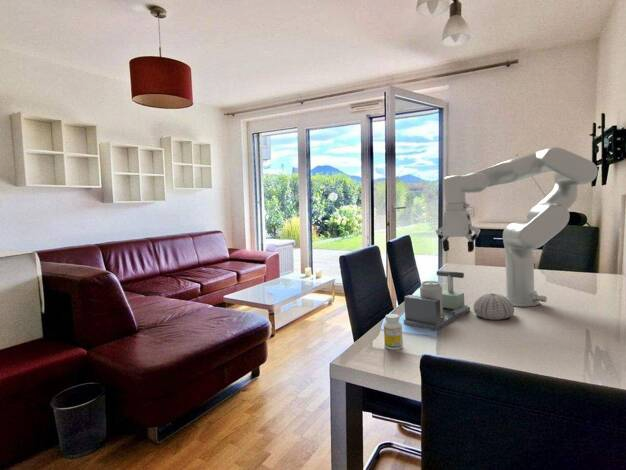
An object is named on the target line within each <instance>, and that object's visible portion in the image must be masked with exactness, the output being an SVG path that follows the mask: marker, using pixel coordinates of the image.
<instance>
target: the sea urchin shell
mask: <svg viewBox="0 0 626 470" xmlns="http://www.w3.org/2000/svg"><path fill="white" fill-rule="evenodd" d="M472 308H473V311H474V313H475V314H476V315H477V316H478V317H480V318H483V319H485V320H493V321H495V320H505V319H508V318H510V317H512V316H513V315H514V313H515V311H516V310H515V306H513V304H512V303H511V302H510V301H509V300H508V299H507V298H506V296H504V295H502V294H497V293H487V294H486V293H485V294H483V295H481V296H480V297H478V298H477V299H476V300H475V302H474V303H473V307H472Z"/></svg>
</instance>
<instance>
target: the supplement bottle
mask: <svg viewBox="0 0 626 470" xmlns="http://www.w3.org/2000/svg"><path fill="white" fill-rule="evenodd" d="M383 337H384V347H385V348H386V349H388V350H390V351H391V350H392V351H396V350H397V351H398V350H401V349H402V348H403V346H404V342H403V341H404V340H403V324H402V322H401V321H400V315H399V314H396V313H388V314H386V315H385V322H384V324H383Z"/></svg>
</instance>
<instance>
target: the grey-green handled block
mask: <svg viewBox="0 0 626 470" xmlns="http://www.w3.org/2000/svg"><path fill="white" fill-rule="evenodd" d="M436 276H439V277H446V279H447V290H446V289H445V290H444V289H442V301H443V307H444V308H450V309H457V308H459V307H461V306H463V305H465V293H464V292H460V291H454V278H458V279H463V278H464V277H465V272H460V271H448V270H440V269H439V270H437V271H436Z"/></svg>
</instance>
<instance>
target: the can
mask: <svg viewBox="0 0 626 470" xmlns="http://www.w3.org/2000/svg"><path fill="white" fill-rule="evenodd" d="M419 286H420V287H419V296H420V297H426V298H432V299H439V300H440V313H441V315H442V314H443V301H442V290H443V286H442V285H441V283H440V282H439V281H437V280H425V281H422V282H421V285H419Z"/></svg>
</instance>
